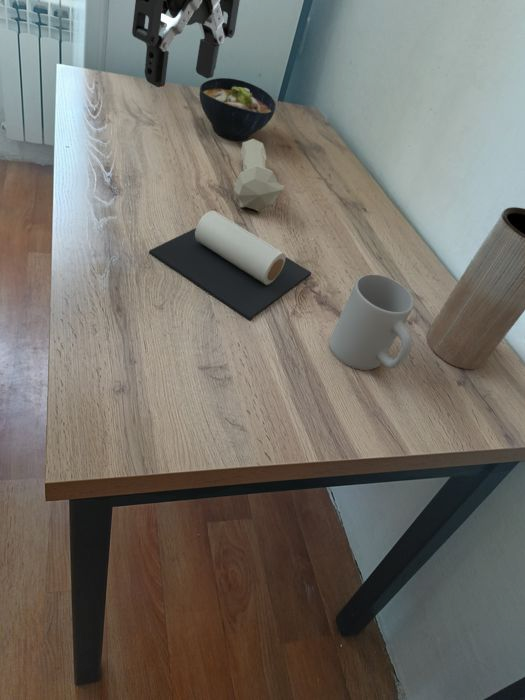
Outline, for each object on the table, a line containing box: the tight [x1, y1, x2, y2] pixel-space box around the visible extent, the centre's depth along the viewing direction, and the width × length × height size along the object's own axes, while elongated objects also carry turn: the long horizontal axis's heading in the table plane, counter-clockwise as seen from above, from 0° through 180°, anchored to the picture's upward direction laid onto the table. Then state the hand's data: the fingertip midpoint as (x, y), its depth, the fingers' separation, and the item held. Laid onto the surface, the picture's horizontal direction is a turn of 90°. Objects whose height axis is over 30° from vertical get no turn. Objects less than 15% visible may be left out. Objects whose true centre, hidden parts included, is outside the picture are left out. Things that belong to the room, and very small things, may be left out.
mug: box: [328, 273, 415, 371], centre depth 75 cm, size 12×8×11 cm
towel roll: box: [195, 210, 287, 285], centre depth 85 cm, size 6×14×6 cm, turn 55°
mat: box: [148, 227, 312, 321], centre depth 87 cm, size 20×18×1 cm
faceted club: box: [233, 138, 285, 212], centre depth 106 cm, size 9×8×25 cm
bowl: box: [198, 77, 277, 142], centre depth 121 cm, size 17×17×10 cm
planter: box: [426, 206, 525, 370], centre depth 79 cm, size 10×10×23 cm
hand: (180, 79), depth 62 cm, fingers open, 8 cm apart
